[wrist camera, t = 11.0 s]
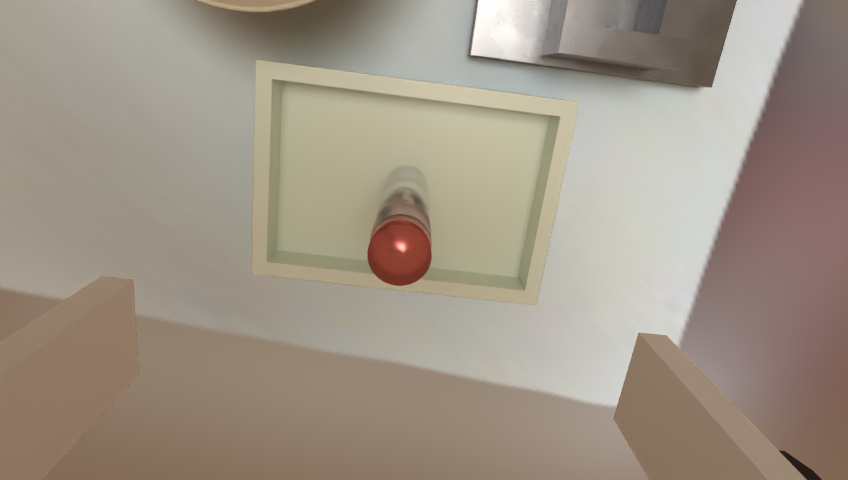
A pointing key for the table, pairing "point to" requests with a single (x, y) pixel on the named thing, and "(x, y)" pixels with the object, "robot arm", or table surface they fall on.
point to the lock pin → (402, 229)
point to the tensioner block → (607, 36)
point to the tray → (396, 146)
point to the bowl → (256, 4)
